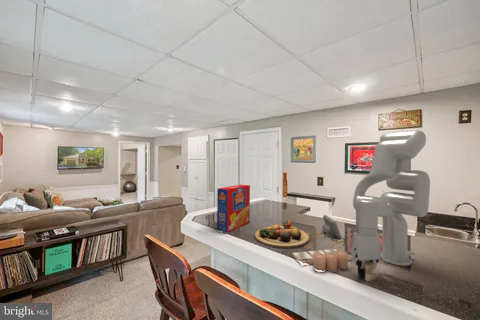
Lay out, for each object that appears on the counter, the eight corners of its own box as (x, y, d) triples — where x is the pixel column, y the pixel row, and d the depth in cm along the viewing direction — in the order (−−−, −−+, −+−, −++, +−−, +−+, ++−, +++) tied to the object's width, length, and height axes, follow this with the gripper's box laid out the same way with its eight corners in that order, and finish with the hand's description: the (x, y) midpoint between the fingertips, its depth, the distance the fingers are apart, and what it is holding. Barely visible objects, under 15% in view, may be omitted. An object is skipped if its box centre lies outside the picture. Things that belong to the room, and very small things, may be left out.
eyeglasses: (347, 246, 114) (347, 239, 114) (329, 251, 107) (329, 244, 107) (324, 237, 127) (324, 231, 127) (308, 242, 120) (308, 235, 120)
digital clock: (342, 240, 122) (342, 221, 122) (325, 238, 124) (325, 220, 124) (335, 230, 138) (335, 214, 138) (321, 229, 140) (321, 214, 140)
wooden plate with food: (275, 226, 148) (275, 214, 148) (318, 237, 126) (318, 224, 126) (243, 238, 126) (243, 225, 126) (290, 255, 103) (289, 238, 103)
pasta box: (227, 234, 131) (227, 189, 131) (217, 231, 135) (217, 188, 136) (249, 223, 154) (249, 185, 155) (240, 221, 159) (240, 184, 159)
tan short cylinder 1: (321, 266, 92) (321, 252, 92) (328, 272, 87) (328, 257, 87) (310, 267, 91) (310, 253, 91) (317, 273, 86) (317, 258, 86)
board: (335, 249, 109) (335, 247, 109) (353, 260, 97) (353, 258, 97) (289, 254, 103) (289, 252, 103) (301, 266, 91) (301, 263, 91)
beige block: (367, 274, 85) (367, 259, 85) (375, 279, 81) (375, 264, 81) (359, 275, 84) (358, 260, 84) (367, 281, 80) (366, 265, 80)
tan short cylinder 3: (342, 263, 94) (342, 249, 94) (350, 268, 90) (350, 254, 90) (332, 264, 93) (332, 250, 93) (340, 269, 88) (340, 255, 89)
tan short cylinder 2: (331, 265, 92) (331, 251, 92) (339, 271, 87) (339, 257, 87) (321, 266, 91) (321, 252, 91) (329, 272, 86) (329, 258, 86)
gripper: (376, 226, 88) (375, 269, 88) (341, 228, 85) (341, 273, 85) (392, 232, 81) (392, 279, 81) (355, 235, 78) (355, 284, 78)
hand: (366, 275), depth 83 cm, fingers closed on beige block, 3 cm apart
